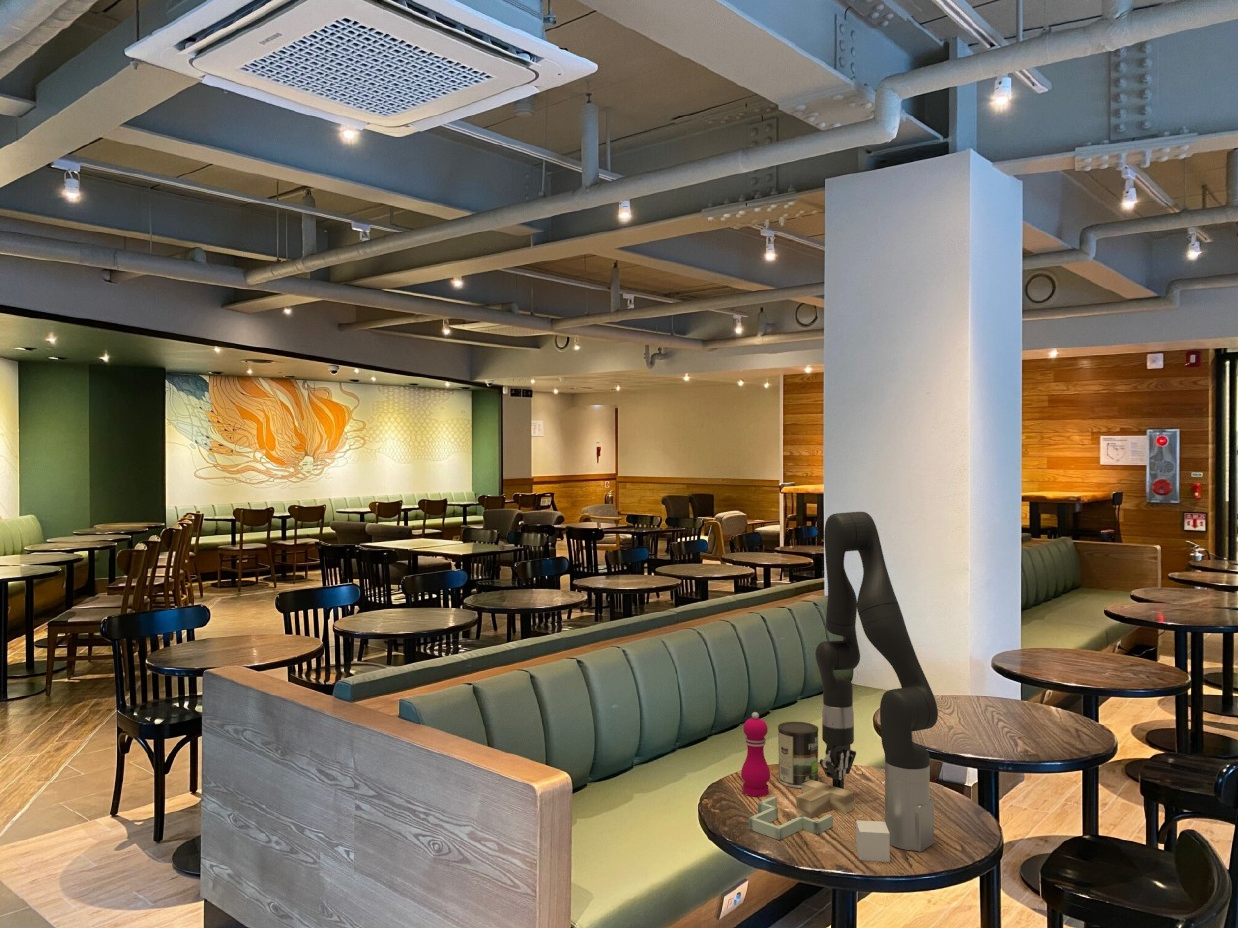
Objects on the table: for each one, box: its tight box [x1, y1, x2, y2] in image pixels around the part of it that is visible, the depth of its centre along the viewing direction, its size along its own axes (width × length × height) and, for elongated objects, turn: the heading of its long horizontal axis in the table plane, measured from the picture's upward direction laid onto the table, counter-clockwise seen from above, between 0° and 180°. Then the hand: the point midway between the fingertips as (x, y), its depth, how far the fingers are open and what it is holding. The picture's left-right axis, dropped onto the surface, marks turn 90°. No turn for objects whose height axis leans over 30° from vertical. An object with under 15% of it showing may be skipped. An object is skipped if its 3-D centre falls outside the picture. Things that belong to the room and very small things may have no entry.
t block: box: [795, 780, 855, 819], centre depth 211 cm, size 12×12×4 cm
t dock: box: [748, 795, 834, 841], centre depth 201 cm, size 16×15×2 cm
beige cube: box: [855, 819, 891, 863], centre depth 186 cm, size 6×6×6 cm
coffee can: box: [777, 721, 819, 789], centre depth 229 cm, size 10×10×14 cm
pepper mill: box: [740, 711, 771, 797], centre depth 222 cm, size 7×7×20 cm
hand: (838, 793), depth 217 cm, fingers closed
